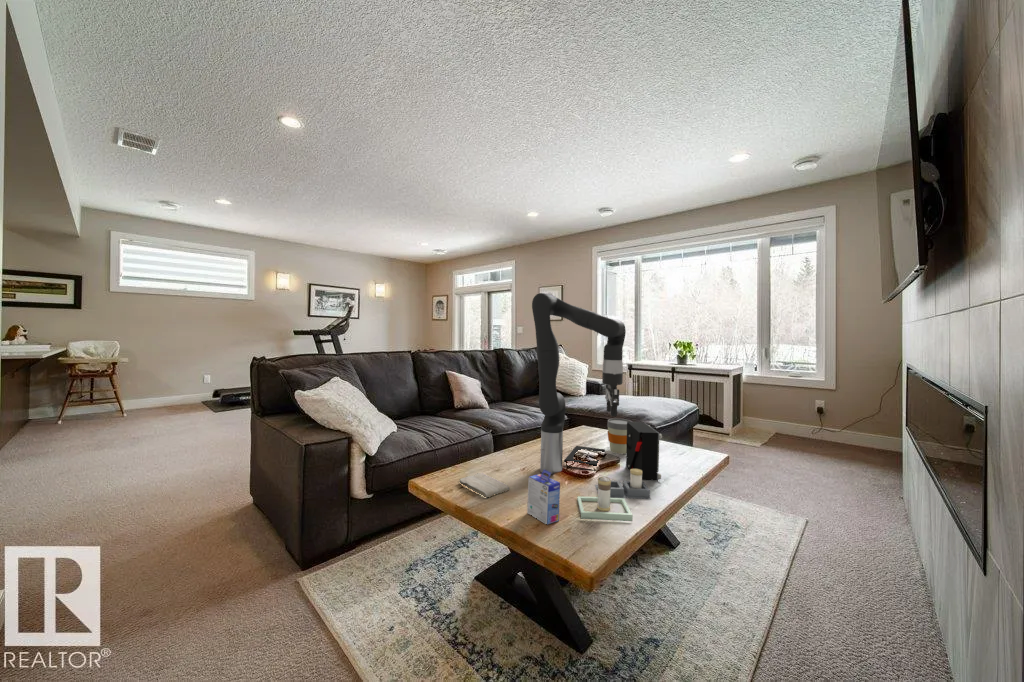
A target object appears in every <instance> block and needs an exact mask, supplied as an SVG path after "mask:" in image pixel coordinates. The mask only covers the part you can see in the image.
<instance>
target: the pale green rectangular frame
mask: <svg viewBox="0 0 1024 682" xmlns="http://www.w3.org/2000/svg"><path fill="white" fill-rule="evenodd" d="M576 499H577V504H578V509H579V513H580V519H582V520H597V521H598V520H600V521H601V520H603V521H618V522H619V521H620V522H633V517H634V516H633V513H632V511H631V510H630V507H629V505H628V503H627V502H626V498H610V503H620V504H622V506H623V508H624V510H625V512H611V511H610V512H609V511H585V509H584V506H583V502H598V496H583V495H582V496H577V497H576ZM582 501H583V502H582Z"/></svg>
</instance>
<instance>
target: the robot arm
mask: <svg viewBox="0 0 1024 682" xmlns="http://www.w3.org/2000/svg"><path fill="white" fill-rule="evenodd" d="M531 309H532V315H533V321H534V328H535V340H536V355H537V356H536V358H537V368H538V369H537V370H538V382H539V386H538V387H539V392H538V407H539V410H540V412H541V413H542V414H543V415H544V418H543V420H542V421H541V427H540V461H539V462H540V466H539V469H540V474H542V472H543V470H546V471H548V472H551V475H555V473H560V472H562V471H563V451H564V450H563V445H564V444H563V443H564V439H563V438H564V437H563V436H564V425H565V421H566V400H565V397H564V396H563V395H562V394H561V393H560V392H557V391H558V390H557V377H558V371H559V367H560V350H559V349H560V347H559V344H558V341H557V339H556V335H555V334H554V331H553V329H552V324H551V316H552V317H553V316H555V317H559V318H563V319H566V320H567V321H568V320H569V322H571V323H573V324H575V325H577V326H579V327H582V328H585V329H587V330H590V331H594V333H597V334H599V335H600V336H601V335H602V336H604V337H606V338H607V340H606V341H607V342H606V344H605V345H604V347H603V361H602V362H603V363H602V371H601V372H602V376H601V377H602V378H601V379H602V381H601V383H602V384H603V385H605V397H604V398H605V401H606V412H609V413H610V416H611V417H614V418H615V417H617V416H618V407H619V406H620V389H618V386H622V385H623V383H624V382H623V381H624V380H623V377H624V376H623V375H624V374H623V373H624V366H623V365H624V362H623V355H624V353H623V351H624V350H623V347H624V344H625V338H626V326H625V323H624V322H623V321H622V320H620V319H614V318H610V317H606V316H603V315H601V314H599V313H598V312H596V311H592V310H589V309H586V308H582V307H579V306H576V305H572V304H570V303H568V302H565V301H564V300H562V299H560V298H559V297H557V296H555V295H553V294H550V293H545V292H538V293H536V294H535V296H533V298H532V301H531ZM545 474H547V473H545ZM547 475H548V474H547Z"/></svg>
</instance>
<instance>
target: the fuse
mask: <svg viewBox="0 0 1024 682" xmlns="http://www.w3.org/2000/svg"><path fill="white" fill-rule="evenodd" d="M611 480H612V479H611V478H610V477H607V476H599V477H597V485H598V492H597V497H598V501H597V505H596V507H597V509H598V510H599V511H600V512H609V511H610V510H611V502H610V489H611Z"/></svg>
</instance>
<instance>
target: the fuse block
mask: <svg viewBox="0 0 1024 682" xmlns="http://www.w3.org/2000/svg"><path fill="white" fill-rule="evenodd" d="M629 472H630V475H629V476H630V479H629V480H622V483H621V481H620V480H613V479H611V489H610V498H624V499H628V500H629V499H633V500H652V498H651V490H650V488H649V487H648V485H647V484H646V483H645V481H643V480H642V470H640V469H630V471H629ZM594 487H595V489H596V492H597V493H598V484H594Z"/></svg>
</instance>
